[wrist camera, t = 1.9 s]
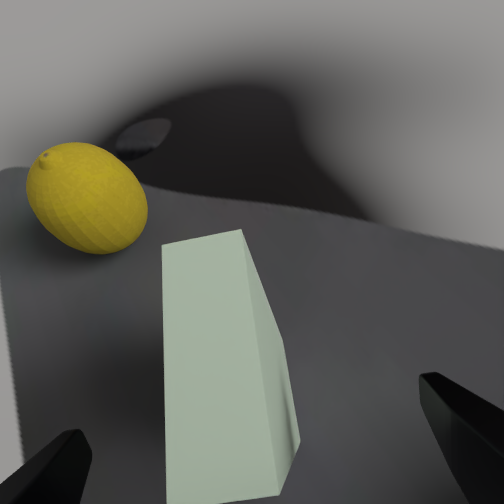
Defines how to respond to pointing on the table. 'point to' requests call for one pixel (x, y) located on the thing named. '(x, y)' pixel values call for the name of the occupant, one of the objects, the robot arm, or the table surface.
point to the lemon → (87, 198)
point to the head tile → (223, 376)
